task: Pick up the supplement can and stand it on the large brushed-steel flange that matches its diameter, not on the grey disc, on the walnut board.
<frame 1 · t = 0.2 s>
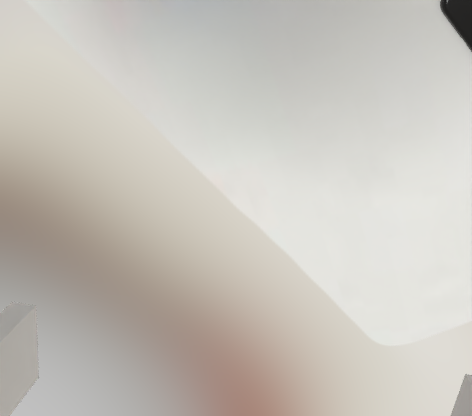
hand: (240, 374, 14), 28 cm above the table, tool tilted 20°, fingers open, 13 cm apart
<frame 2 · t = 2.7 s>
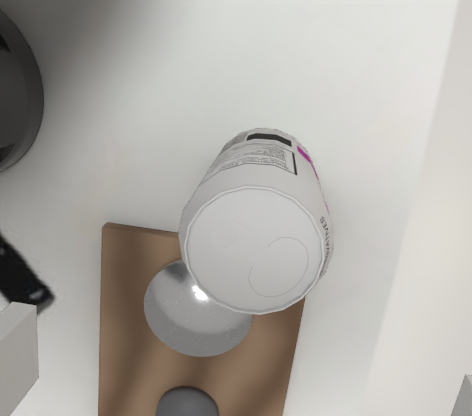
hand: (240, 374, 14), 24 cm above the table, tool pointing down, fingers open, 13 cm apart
grey disc: (190, 401, 44), resting on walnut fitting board
supplement can: (263, 176, 36), on the table
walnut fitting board: (195, 352, 42), on the table
large steel flange: (201, 297, 40), resting on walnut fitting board
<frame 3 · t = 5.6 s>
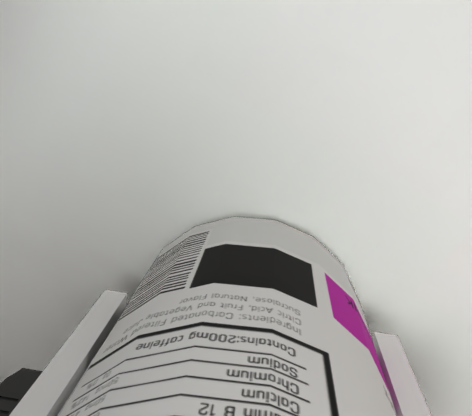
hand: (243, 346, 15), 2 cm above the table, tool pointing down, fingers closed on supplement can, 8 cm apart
supplement can: (248, 307, 17), on the table, touching gripper
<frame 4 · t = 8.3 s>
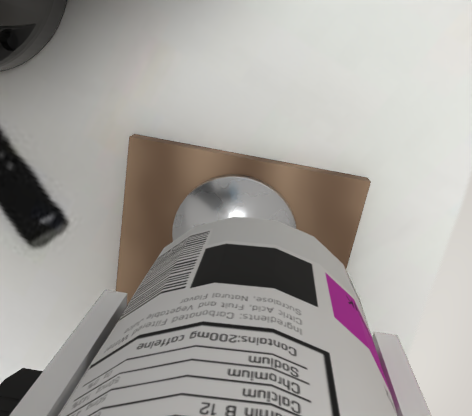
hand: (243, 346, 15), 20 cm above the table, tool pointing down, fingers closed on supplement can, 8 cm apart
supplement can: (249, 307, 17), point 18 cm above the table, touching gripper
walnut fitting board: (224, 292, 37), on the table
large steel flange: (236, 227, 35), resting on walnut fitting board
when the fingers open (6 cm above the table, at t = 11.3 s): supplement can drops 1 cm, resting on large steel flange.
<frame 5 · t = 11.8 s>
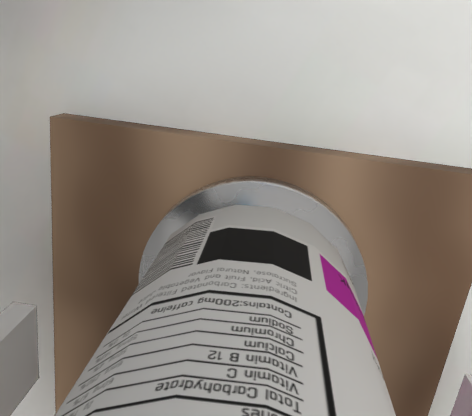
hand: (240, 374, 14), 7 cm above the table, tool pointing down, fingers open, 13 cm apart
supplement can: (250, 291, 18), point 2 cm above the table, touching large steel flange
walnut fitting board: (237, 375, 22), on the table
large steel flange: (253, 269, 20), resting on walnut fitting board
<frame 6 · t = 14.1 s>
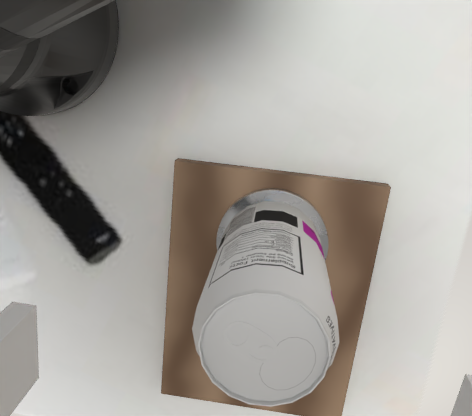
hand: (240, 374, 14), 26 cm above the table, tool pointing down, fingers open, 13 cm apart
supplement can: (271, 244, 38), point 2 cm above the table, touching large steel flange
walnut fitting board: (264, 295, 41), on the table
large steel flange: (272, 235, 40), resting on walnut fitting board
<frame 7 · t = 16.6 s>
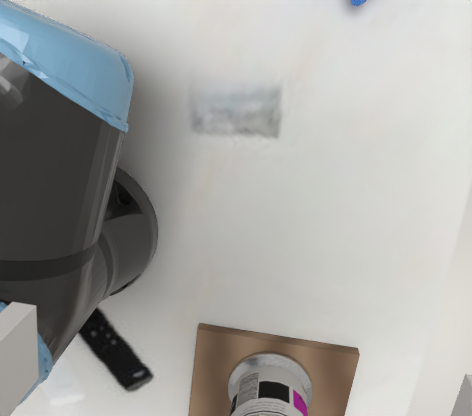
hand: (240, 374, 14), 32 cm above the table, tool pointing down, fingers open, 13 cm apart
supplement can: (269, 390, 50), point 2 cm above the table, touching large steel flange
large steel flange: (270, 378, 52), resting on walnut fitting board
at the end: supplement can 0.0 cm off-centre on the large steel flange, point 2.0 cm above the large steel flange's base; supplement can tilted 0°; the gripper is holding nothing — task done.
